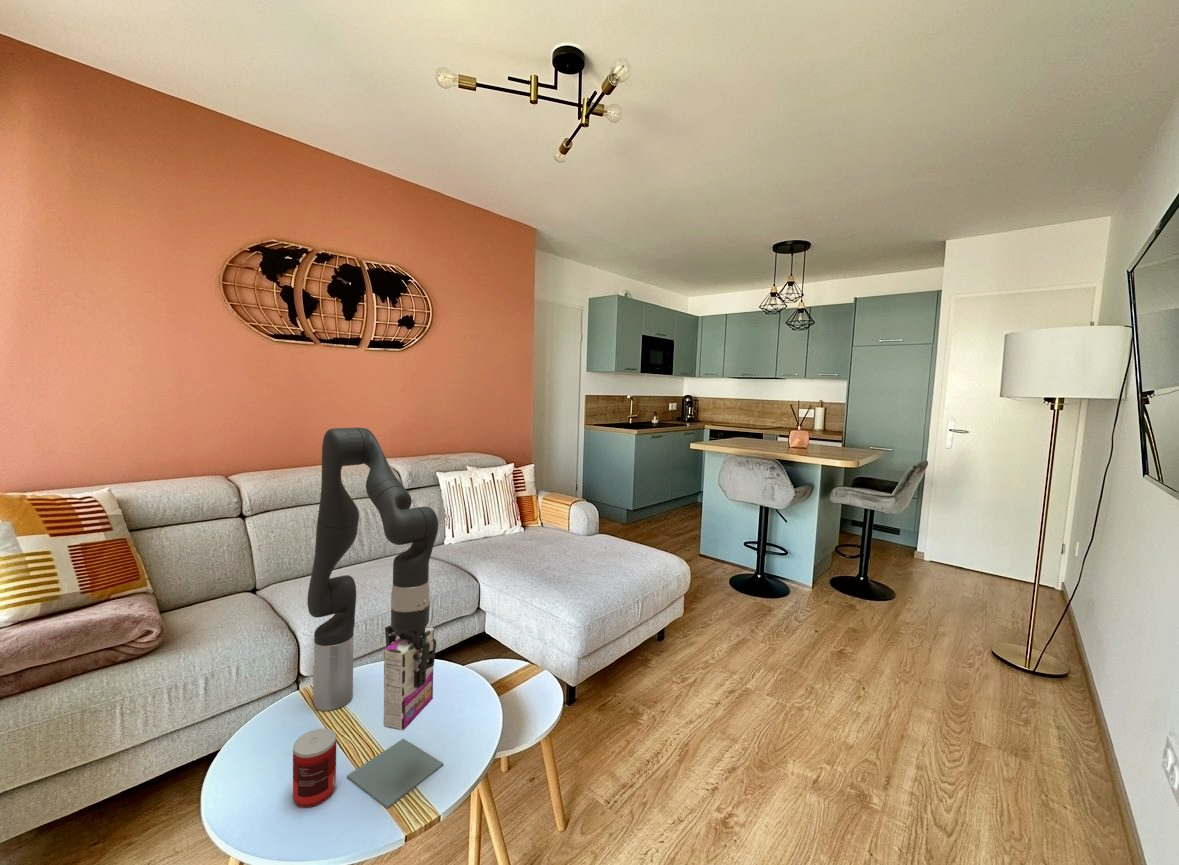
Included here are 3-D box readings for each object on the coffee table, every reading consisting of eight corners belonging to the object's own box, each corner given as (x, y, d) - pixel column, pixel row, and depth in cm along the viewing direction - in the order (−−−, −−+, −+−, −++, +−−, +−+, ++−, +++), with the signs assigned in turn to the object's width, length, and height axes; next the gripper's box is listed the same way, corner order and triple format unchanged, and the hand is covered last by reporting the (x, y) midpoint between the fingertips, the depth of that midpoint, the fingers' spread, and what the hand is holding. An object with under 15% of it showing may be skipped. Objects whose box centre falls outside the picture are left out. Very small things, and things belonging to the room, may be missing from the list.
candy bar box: (413, 695, 106) (415, 624, 105) (433, 699, 105) (435, 627, 104) (380, 727, 95) (383, 648, 95) (402, 732, 94) (405, 652, 93)
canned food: (322, 772, 102) (322, 723, 101) (344, 788, 98) (344, 737, 97) (284, 796, 95) (284, 744, 95) (306, 815, 91) (306, 760, 91)
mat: (346, 777, 101) (346, 775, 101) (403, 740, 113) (403, 738, 113) (387, 808, 93) (387, 806, 93) (443, 765, 105) (443, 763, 105)
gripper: (373, 600, 100) (372, 678, 100) (417, 618, 92) (416, 701, 93) (404, 589, 106) (403, 662, 107) (448, 605, 98) (446, 683, 99)
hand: (409, 680), depth 100 cm, fingers closed on candy bar box, 6 cm apart
